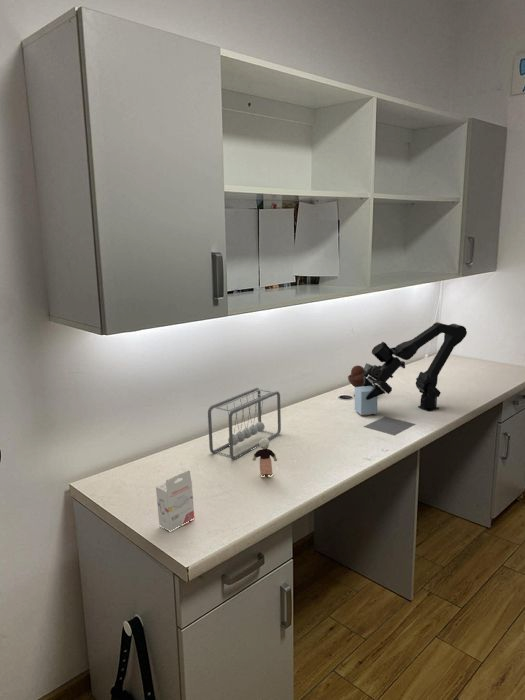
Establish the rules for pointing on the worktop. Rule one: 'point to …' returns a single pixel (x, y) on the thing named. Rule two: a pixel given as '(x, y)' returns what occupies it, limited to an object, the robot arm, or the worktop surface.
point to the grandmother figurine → (265, 457)
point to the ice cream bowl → (356, 376)
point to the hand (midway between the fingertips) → (363, 396)
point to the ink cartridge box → (175, 501)
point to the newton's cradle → (247, 431)
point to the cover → (365, 401)
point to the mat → (389, 425)
